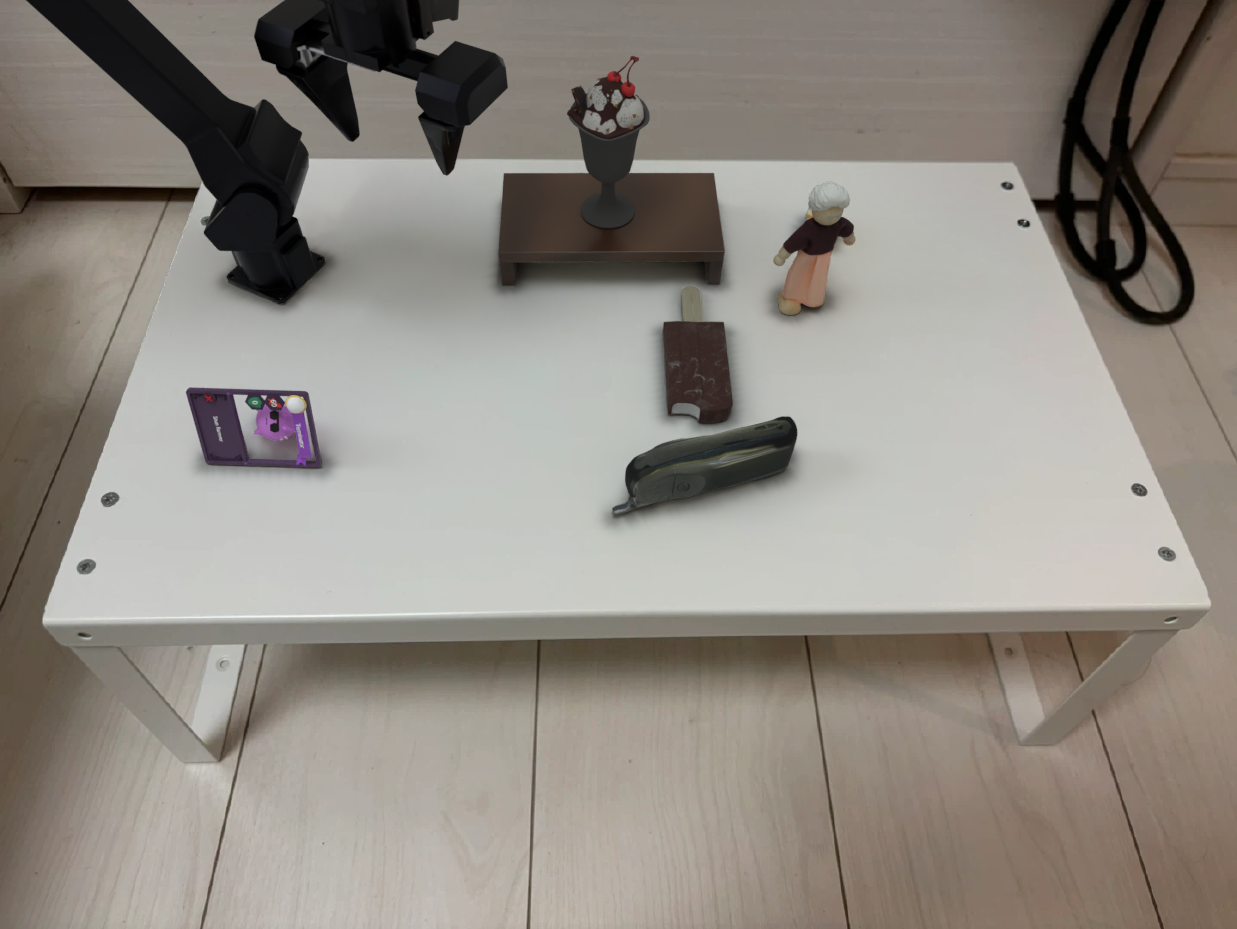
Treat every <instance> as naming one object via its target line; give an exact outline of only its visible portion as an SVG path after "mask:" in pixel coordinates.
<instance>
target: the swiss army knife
mask: <svg viewBox="0 0 1237 929" xmlns="http://www.w3.org/2000/svg"><path fill="white" fill-rule="evenodd" d="M797 440H798V427H797V424H796V421H795V420H794V419H793V418H792V417H791V416H789V415H788V416H785V415H784V416H778V417H775V418H774V419H770V420H767V421H762V422H759V423H755V424H752V425H746V426H741V427H736V428H733V429H730V430H725V431H722V432H718V433H714V434H708V435H700V436H694V437H686V438H685V437H684V438H677V439H673V440H669V441H665V442H662V443H660V444H658V445H655V446H654V447H653V448H651V449H649V450H647V451H645V452H642V453H640V454H637V455H636V456H634V457H633V458H632V459H631V461H629V463H628V464H627V466H626V467H625V471H624V472H625V474H624V485H625V488H626V490H627V493H628V500H627V501H626V502H624V503H620V504H617V505H615V506H613V507H612V508H611V511H612V514H613V515H614V516H618V515H621V514H624V513H627V512H630V511H632V510H635V509H639V508H642V507H646V506H648V505H652V504H656V503H657V504H658V503H662V502H665V501H669V500H673V499H685V498H690V497H694V496H697V495H701V494H704V493H708V492H712V491H716V490H720V489H721V490H722V489H725V488H731V487H734V486H735V487H736V486H738V485H742V484H745V483H749V482H752V481H757V480H761V479H764V478H768V477H771V476H775V475H777V474H779V473H782V472H784V471H785V470H786V469H787V467H788V466H789V465H790V462H791V459H792V455H793V453H794V450H795V447H796V443H797Z"/></svg>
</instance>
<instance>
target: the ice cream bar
mask: <svg viewBox="0 0 1237 929" xmlns="http://www.w3.org/2000/svg"><path fill="white" fill-rule="evenodd" d="M701 298H702V297H701V291H700V288H698V287H697V286H696V285H695V286H694V285H686V286H683V287H682V288H681V292H680V299H681V300H680V302H681V303H680V304H681V317H682V320H672V321H671V320H670V321H663V324H662V325H663V326H662V327H663V328H662V336H663V337H662V338H663V354H664V356H663V357H664V373H665V374H664V375H665V386H666V387H665V390H666V407H667V408H666V409H667V414H668V415H669V416H691V417H692V418H695V419H697V421H698V423H699V424H704V423H705V424H706V423H707V424H717V423H720V422H724V421H726V420H727V419H728V418H729V417H730V416H731V413H732V410H733V405H734V404H733V403H734V400H733V390H732V383H731V374H730V365H729V364H730V363H729V356H728V346H727V338H726V336H727V335H726V328H725V322H724V321H704V320H703V310H702V309H703V306H702V299H701Z"/></svg>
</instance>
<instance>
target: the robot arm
mask: <svg viewBox="0 0 1237 929" xmlns="http://www.w3.org/2000/svg"><path fill="white" fill-rule="evenodd" d="M25 1H26V2H27V3H28V4H29V5H30V6H31V7H32V8H33V9H35V10H36V11H37V12H38V13H39V14H40V15H41V16H42V17H44V19H46V20H47V21H48V22H49V23H50V24H51V25H52V26H53V27H54V28H56V30H58V31H59V32H60V33H61V34H62V35H63V36H64V37H65V38H67V40H69V41H70V42H71V43H72V44H73V45H74V46H75V47H76V48H78V49H79V50H80V51H81V52H82V53H83V54H84V55H85V56H87V57H88V59H90V60H91V61H92V62H93V63H94V64H95V65H97V66H98V68H100V70H102V71H103V72H104V73H105V74H106V75H108V77H110V78H111V79H112V80H113V81H114V82H115V83H117V84H118V85H119V86H120V87H121V88H122V89H123V90H124V91H125V92H126V93H127V94H128V95H129V96H131V97H132V98H133V99H134V100H135V101H136V102H138V103H139V105H141V107H143V108H144V109H145V110H146V111H147V112H148V113H150V115H152V116H153V117H154V118H155V119H156V120H157V121H158V122H160V123H161V125H163V126H164V127H165V128H166V129H167V130H168V131H169V132H171V134H173V135H174V136H175V137H176V138H177V139H178V140H180V142H181V143H182V144H183V145H184V146H185V148H186V149H187V152H188V154H189V156H190V158H191V160H192V162H193V165H194V167H195V169H196V171H197V174H198V176H199V177H200V180H201V182H202V184H203V186H204V187H205V188H206V189H207V191H208V192H209V193H210V194H211V195H212V197H214V199H215V202H214V205H213V207H212V210H211V212H210V215H209V217H208V219H207V222H206V225H205V227H204V230H203V235H204V236H205V237H206V238H207V239H208V241H209V242H210V243H211V244H212V245H213V246H214V248H215V249H216V250H218V251H220V252H231V254H232V257H233V259H234V261H235V264H236V266H235V267H234V268H233V269H232V270H230V272H228V273H227V274H226V277H225V278H226V280H227V282H228V283H230V284H232V285H234V286H236V287H239V288H240V289H243V290H245V291H248V292H249V293H253V294H254V295H258V296H260V297H262V298H264V299H266V300H269V301H271V302H273V303H276V304H279V305H284V304H285V303H287V302H288V301H289V300H290V299H291V298H292V297H293V296H294V295H295V294H296V293H297V292H298V291H299V290H300V289H301V288H303V286H304V285H305V284H306V283H307V282H308V281H310V279H311V278H312V277H314V276H315V274H317V272H319V271H320V270H321V269H322V268H323V267H324V266H325V265H326V263H327V262H326V258H325V257H324V255H322V254H319V253H316V252H314V251H312V250H310V247H309V243H308V241H307V240H308V239H307V238H306V236H304V233H303V231H302V228H301V225H300V222H299V218H297V217H295V216H294V215H295V212H296V209H297V206H298V203H299V199H300V196H301V194H302V190H303V187H304V184H305V181H306V178H307V174H308V171H309V168H310V159H309V156H310V153H309V151H308V148H307V147H306V145H305V144H304V142H303V141H302V140H301V139H302V136H303V132H302V131H301V130H299V129H298V128H296V127H294V126H292V124H290V123H289V122H287V120H286V119H285V118H283V116H282V115H281V114H280V113H279V111H278V110H277V109H276V107H275V106H274V105H273V104H272V103H271V102H270V101H269V100H267V99H265V98H263V99H261V100H260V101H258V103H256V105H254V106H251V105H248V104H246V103H242V102H240V101H237V100H234V99H231V98H230V97H228V96H227V95H225V94H224V93H223V92H222V91H221V90H220V89H219V88H218V87H217V86H216V85H215V84H214V83H213V82H212V81H211V80H210V79H209V78H208V77H207V76H206V75H205V74H204V73H203V72H202V71H201V70H200V69H199V68H198V67H197V66H196V65H195V64H193V62H192V61H191V60H190V59H188V57H187V56H186V55H184V54H183V52H181V51H180V49H179V48H178V47H176V46H175V45H174V43H173V42H171V41H170V40H169V39H168V38H167V37H166V36H165V35H164V34H163V32H161V31H160V30H159V29H158V28H157V27H156V26H155V25H154V24H153V23H152V22H151V21H150V20H149V19H148V18H147V17H146V16H145V15H144V14H143V13H142V12H141V11H140V10H139V9H138V8H137V7H136V6H135V5H134V4H133V3H132V2H131V1H129V0H25ZM459 9H460V0H282V1H281V2H280V3H278V4H277V5H276V6H275V7H273V8H272V9H270V10H269V11H267V12H265V14H263V15H262V16H261V17H259V18H258V19H257V22H256V25H255V29H254V33H253V40H254V42H255V45H256V47H257V50H258V54H259V56H260V59H261V61H262V62H264V63H265V62H266V63H269V64H272V65H274V66H275V69H276V71H277V73H278V74H279V75H281V76H284V77H285V78H287V79H288V81H290V82H291V84H293V85H294V86H295V87H296V88H297V89H298V90H299V91H300V92H301V93H302V94H303V95H304V96H305V97H307V99H308V100H309V101H310V102H311V103H312V104H313V105H314V106H315V107H316V108H317V109H318V110H319V111H320V112H321V113H322V114H323V115H324V117H326V119H327V120H328V121H330V123H331V124H332V125H333V126H334V127H335V129H337V130H338V132H340V134H341V135H342V136H343V137H344V138H345V139H346V140H347V141H349V142H351V143H354V142H355V141H356V140H358V138H359V137H360V136H361V133H360V132H361V131H360V123H359V116H358V112H357V108H356V103H355V99H354V92H353V89H352V84H351V80H350V76H349V70H348V64H349V65H353V66H356V67H358V68H361V69H365V70H368V71H371V72H377V73H381V72H382V71H384V72H386V73H390V74H393V75H397V76H399V77H402V78H405V79H407V80H411V81H415V82H416V86H415V88H414V92H415V98H416V103H417V105H418V106H419V107H420V109H421V110H422V112H421V113H420V114H419V115H418V116H417V119H418V121H419V124H420V127H421V129H422V131H423V134H424V136H425V138H426V141H427V144H428V146H429V149H430V151H431V153H432V155H433V158H434V160H435V163H436V165H437V166H438V169H439V171H440V172H441V174H442V175H444V176H446V177H448V176H449V175H450V174H451V173H452V172H453V171H454V169H455V168H456V163H457V159H458V156H459V151H460V148H461V143H462V139H463V135H464V130H465V128H466V127H467V126H471V125H472V124H473V123H474V122H475V121H476V120H477V119H478V118H479V117H480V116H481V115H482V114H484V112H485V111H486V110H487V109H489V107H490V106H491V105H492V104H493V103H495V101H497V99H499V97H500V96H501V95H502V94H503V93H505V92H506V91H507V89H509V85H508V75H507V67H506V63H505V61H504V58H503V57H501V56H500V55H499V54H497V53H496V52H492V51H490V50H487V49H484V48H480V47H476V46H474V45H470V44H468V43H464V42H462V41H461V42H460V41H457V40H454V41H453V42H451V44H450V45H448V46H447V47H446V48H445V49H444V50H443V51H442V52H441V53H439V54H435V53H433V52H429V51H426V50H423V49H420V48H417V42H418V41H419V40H424V41H426V40H427V39H428V38H430V37H431V36H432V35H433V34H434V33H435V30H434V29H435V28H434V23H435V22H436V23H437V22H441V21H446V20H449V21H452V22H454V21H457V20H458V19H459V12H460V10H459Z"/></svg>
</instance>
